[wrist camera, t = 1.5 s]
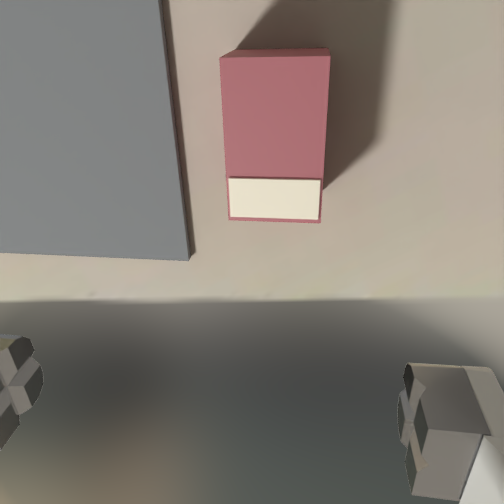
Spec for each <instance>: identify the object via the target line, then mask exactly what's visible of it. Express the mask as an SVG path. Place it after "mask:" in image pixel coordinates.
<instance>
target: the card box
mask: <svg viewBox="0 0 504 504" xmlns="http://www.w3.org/2000/svg"><path fill="white" fill-rule="evenodd" d="M330 57H331V56H330V52H329V49H328V48H294V49H235V50H233V51H231V52H229V53H227V54H226V55H224V56H222V57H220V58H219V60H220V77H221V95H222V112H223V129H224V147H225V164H226V182H227V199H228V217H229V220H239V221H268V222H297V223H321V206H322V190H323V173H324V156H325V140H326V123H327V107H328V90H329V73H330Z"/></svg>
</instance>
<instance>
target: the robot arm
mask: <svg viewBox="0 0 504 504" xmlns="http://www.w3.org/2000/svg"><path fill="white" fill-rule="evenodd" d="M34 351H35V349H34V347H33V345H32V343H31V340H30V339H29V338H26V337H23V336H15V335H4V334H0V451H1V450H2V448H3V447H4V445H5V444H6V443H7V441H8V440H9V438H10V437H11V436H12V434H13V433H14V431H15V430H16V429H17V427H18V426H19V425H20V416H19V415H20V414H22V413H23V412H25V411H26V410H28V409H30V408H31V407H32V406H33V405H34V403H35V402H36V400H37V399H38V398H39V396H40V392H41V389H42V386H43V371H42V369H41V366H40V364H39V363H37V362H36V361H35V360H34V359H33V358H32V357H31V356H32V354H33V352H34ZM403 380H404V384H405V390H403V391H402V392H401V393H400V395H399V401H398V417H397V419H398V427H399V428H398V429H399V434H400V440H401V442H402V443H403V444H404V445H405V446H406V447H407V448H408V449H407V453H406V458H405V466H406V470H407V475H408V480H409V485H410V489H411V495H417V496H425V497H432V498H439V499H447V500H455V501H460V503H459V504H504V393H503V391H502V389H501V387H500V385H499V383H498V381H497V379H496V377H495V375H494V373H493V371H492V370H491V369H489V368H488V367H474V366H460V367H459V366H452V365H434V364H419V363H407V365H406V367H405V370H404V374H403Z"/></svg>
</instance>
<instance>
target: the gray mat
mask: <svg viewBox="0 0 504 504" xmlns="http://www.w3.org/2000/svg"><path fill="white" fill-rule="evenodd" d="M0 253H20V254H42V255H65V256H88V257H110V258H133V259H155V260H178V261H189V260H190V258H191V255H190V246H189V237H188V229H187V220H186V211H185V203H184V194H183V185H182V176H181V168H180V159H179V150H178V142H177V133H176V124H175V115H174V107H173V98H172V89H171V81H170V72H169V63H168V54H167V46H166V37H165V28H164V20H163V11H162V2H161V0H0Z"/></svg>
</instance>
